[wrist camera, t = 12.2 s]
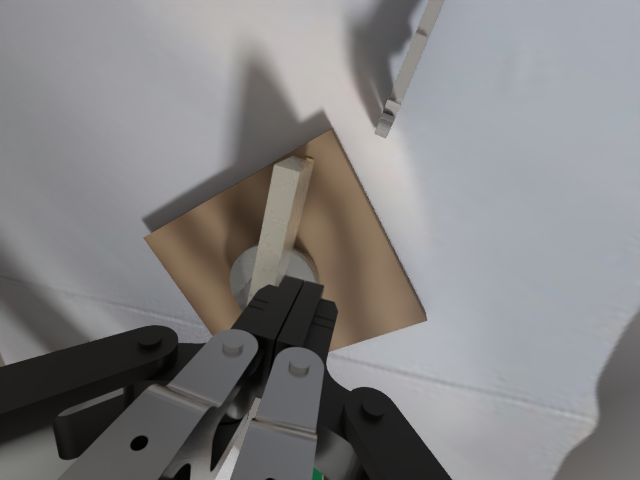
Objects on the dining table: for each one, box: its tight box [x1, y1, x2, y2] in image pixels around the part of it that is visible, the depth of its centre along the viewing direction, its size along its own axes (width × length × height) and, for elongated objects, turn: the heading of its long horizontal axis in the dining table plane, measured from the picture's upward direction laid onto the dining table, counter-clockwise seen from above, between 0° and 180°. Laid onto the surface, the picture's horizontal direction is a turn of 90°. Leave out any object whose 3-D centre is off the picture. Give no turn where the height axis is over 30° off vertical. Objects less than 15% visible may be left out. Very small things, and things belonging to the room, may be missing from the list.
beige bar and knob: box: [230, 156, 320, 312], centre depth 30 cm, size 18×9×6 cm, turn 166°
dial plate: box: [144, 129, 427, 352], centre depth 36 cm, size 24×21×2 cm
